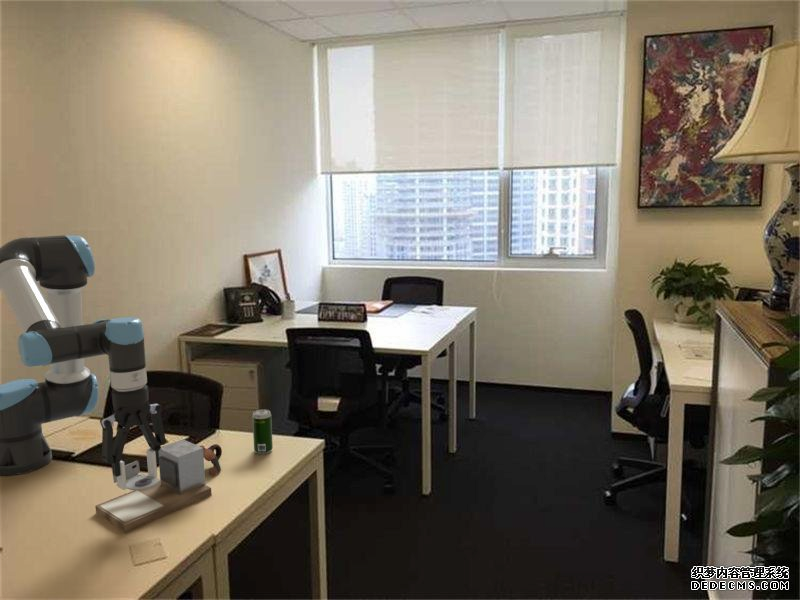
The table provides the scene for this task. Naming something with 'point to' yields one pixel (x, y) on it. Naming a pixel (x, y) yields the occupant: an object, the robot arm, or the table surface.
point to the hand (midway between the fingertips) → (137, 481)
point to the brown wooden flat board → (147, 505)
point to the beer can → (262, 431)
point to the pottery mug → (213, 457)
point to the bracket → (137, 478)
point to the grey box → (181, 466)
